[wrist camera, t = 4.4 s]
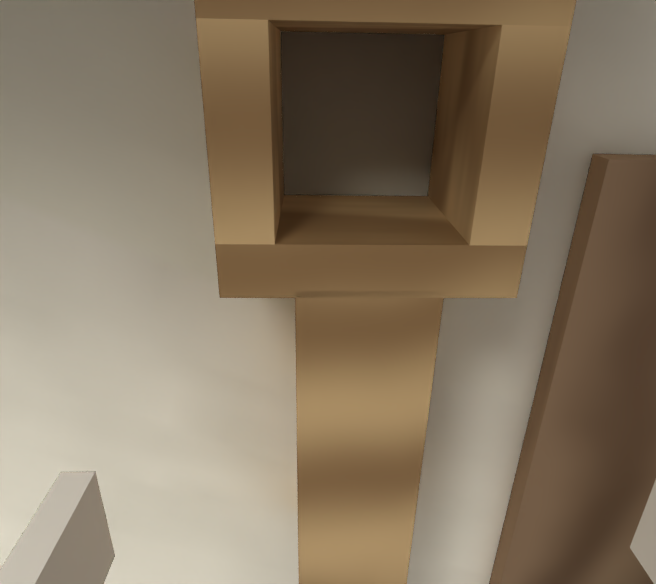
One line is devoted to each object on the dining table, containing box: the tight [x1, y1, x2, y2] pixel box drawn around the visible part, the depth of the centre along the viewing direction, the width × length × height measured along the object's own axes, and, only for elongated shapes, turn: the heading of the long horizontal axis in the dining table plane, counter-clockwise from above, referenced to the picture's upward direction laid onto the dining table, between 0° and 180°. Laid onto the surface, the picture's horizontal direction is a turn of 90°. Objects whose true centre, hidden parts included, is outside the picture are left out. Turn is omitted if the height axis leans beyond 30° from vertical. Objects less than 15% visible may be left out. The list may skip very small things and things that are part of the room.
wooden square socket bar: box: [194, 0, 576, 584], centre depth 17 cm, size 22×8×5 cm, turn 179°
